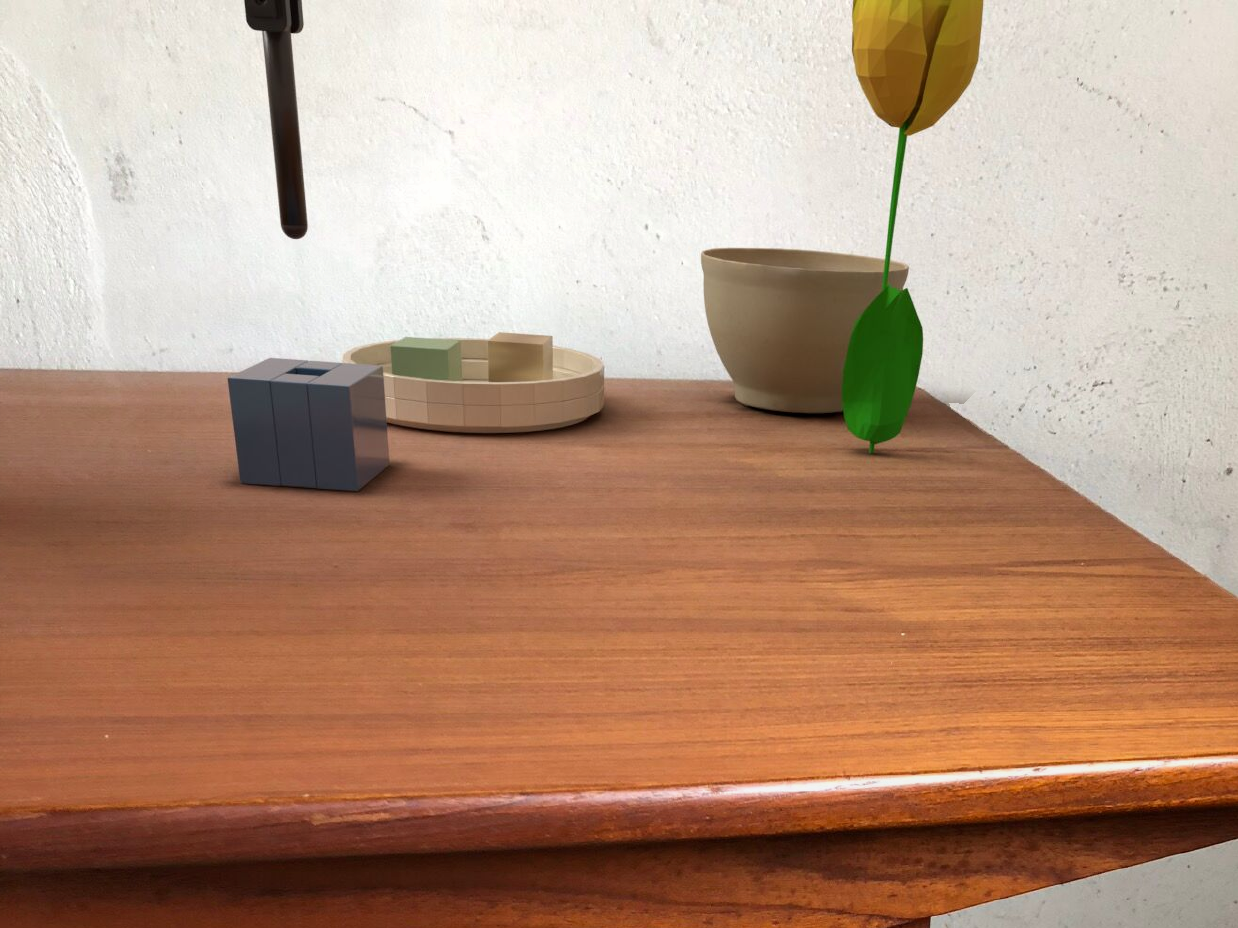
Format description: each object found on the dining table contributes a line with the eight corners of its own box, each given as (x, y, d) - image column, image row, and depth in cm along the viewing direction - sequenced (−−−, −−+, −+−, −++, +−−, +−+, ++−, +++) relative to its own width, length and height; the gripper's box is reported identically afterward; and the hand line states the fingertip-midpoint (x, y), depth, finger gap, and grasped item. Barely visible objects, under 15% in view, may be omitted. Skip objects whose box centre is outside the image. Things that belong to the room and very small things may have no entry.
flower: (805, 438, 105) (846, -59, 89) (912, 441, 106) (970, -50, 90) (826, 465, 97) (874, -71, 82) (940, 469, 98) (1009, -60, 83)
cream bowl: (312, 425, 100) (307, 372, 98) (386, 377, 116) (383, 331, 114) (582, 444, 99) (582, 391, 97) (618, 393, 115) (618, 347, 114)
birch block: (489, 399, 108) (487, 340, 105) (500, 389, 111) (498, 332, 109) (543, 403, 107) (542, 344, 105) (553, 393, 111) (552, 335, 109)
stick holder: (240, 483, 85) (227, 377, 82) (280, 456, 91) (269, 357, 88) (357, 491, 85) (349, 386, 82) (389, 464, 91) (383, 365, 88)
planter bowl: (928, 423, 112) (947, 271, 106) (741, 429, 106) (750, 269, 101) (838, 384, 124) (851, 246, 119) (666, 387, 119) (671, 243, 113)
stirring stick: (278, 239, 81) (246, -86, 73) (286, 237, 82) (256, -83, 74) (304, 241, 81) (275, -84, 73) (312, 239, 82) (284, -81, 74)
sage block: (393, 406, 104) (389, 345, 101) (408, 396, 107) (404, 336, 105) (450, 411, 103) (447, 349, 101) (463, 400, 107) (460, 340, 105)
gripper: (212, -370, 73) (252, 31, 82) (93, -457, 61) (155, 22, 70) (355, -362, 73) (379, 40, 82) (264, -448, 61) (304, 32, 70)
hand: (275, 30), depth 76 cm, fingers closed on stirring stick
